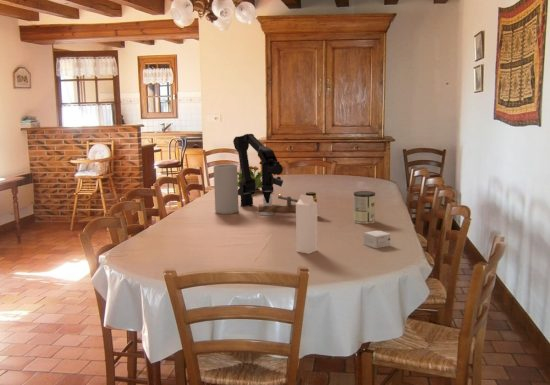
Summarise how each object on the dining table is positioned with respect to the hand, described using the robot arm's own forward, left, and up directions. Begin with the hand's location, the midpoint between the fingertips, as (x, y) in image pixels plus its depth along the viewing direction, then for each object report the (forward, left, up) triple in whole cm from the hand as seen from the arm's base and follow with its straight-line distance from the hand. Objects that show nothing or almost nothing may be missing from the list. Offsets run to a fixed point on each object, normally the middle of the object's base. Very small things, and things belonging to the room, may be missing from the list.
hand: (267, 201), depth 288 cm
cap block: (0, 0, -2) cm, 2 cm away
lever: (+12, 0, +1) cm, 12 cm away
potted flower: (-9, +67, -5) cm, 68 cm away
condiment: (+21, -16, -5) cm, 27 cm away
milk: (+14, -82, -5) cm, 83 cm away
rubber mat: (-1, -9, -5) cm, 10 cm away
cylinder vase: (-22, -1, -5) cm, 23 cm away
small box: (+43, -76, -5) cm, 87 cm away
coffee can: (+46, -32, -5) cm, 56 cm away
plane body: (+5, 0, -5) cm, 7 cm away
